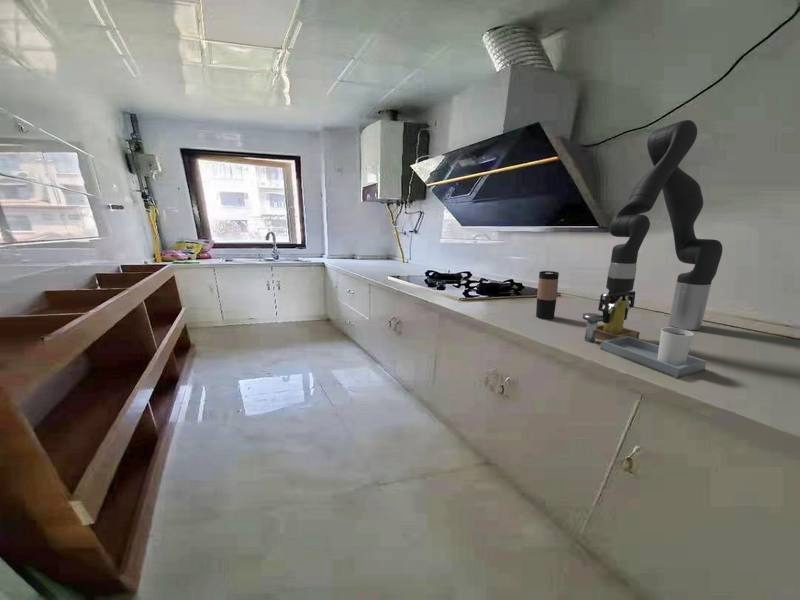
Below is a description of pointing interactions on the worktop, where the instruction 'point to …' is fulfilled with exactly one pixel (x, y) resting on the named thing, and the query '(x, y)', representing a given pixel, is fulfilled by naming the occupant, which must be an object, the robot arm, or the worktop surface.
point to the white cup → (674, 345)
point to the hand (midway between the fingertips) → (614, 321)
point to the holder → (606, 336)
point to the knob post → (591, 325)
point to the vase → (616, 319)
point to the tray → (650, 356)
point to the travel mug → (547, 294)
